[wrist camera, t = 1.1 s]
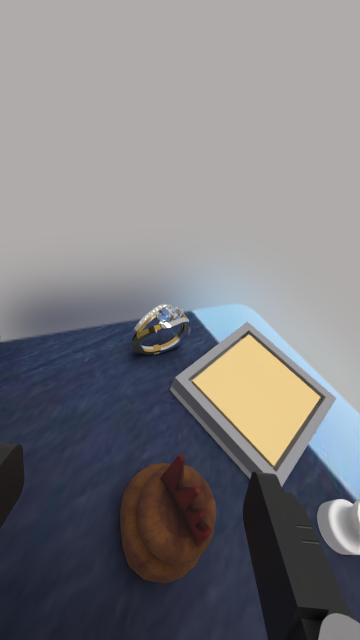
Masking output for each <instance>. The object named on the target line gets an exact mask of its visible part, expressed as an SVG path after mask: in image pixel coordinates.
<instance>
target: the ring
mask: <svg viewBox="0 0 360 640" xmlns="http://www.w3.org/2000/svg"><path fill="white" fill-rule="evenodd" d="M177 309H178V307H176V308H175V309H174V308H173V307H172V305H168V304H161V305H159V306H157V307H156V308H154V309H153V310H152V311H150V312H149V313H148V314H147V315H146V316H144V317H143V318H142V319H141V320H140V322H139V323H138V324H137V325H136V327H135V329H134V330H133V332H132V335H131V340H132V345H133V348H134V350H135V351H136V352H138V353H140V354H154V355H159V354H160V353H163V352H166V351H168V350H171V349H173V348H174V347H176V346H178V345H179V344H180V343H182V342H183V341H184V340H185V339H186V338H187V336H188V335H189V333H190V330H191V325H190V322H189V320H188V319H187V318H186V316H185V315H184V313H183V312H184V310H182V309H181V310H177ZM160 313H162V315H160V316H159V314H160ZM155 317H156V320H157V321H159V325H156V326H153V327H150V328H148V329H146V330H144V331H142V330H143V329H144V328H145V326H146V325H147V324H148V323H149V322H150V321H151V320H152V319H153V318H155ZM170 321H171V322H170ZM166 322H168V323H166ZM179 324H181V329H180V331H179V333H178V334H177V336H176V337H175V338H174V339H172V340H171V341H169V342H167V343H165V344H163V345H154V346H153V347H146V346H142V345H140V342H141V341H142V340H143V339H145V338H146V337H148V336H149V335H151V334H153V333H155V332H157V331H158V330H160V329H163V328H171V327H174V326H176V325H179Z"/></svg>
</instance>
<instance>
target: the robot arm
mask: <svg viewBox="0 0 360 640" xmlns="http://www.w3.org/2000/svg"><path fill="white" fill-rule="evenodd" d="M23 485H24V465H23V449H22V446H21V445H16V444H7V443H0V527H1V526H2V524H3V523H4V521H5V519H6V518H7V516H8V515H9V513H10V511H11V510H12V508H13V507H14V505H15V503H16V502H17V500H18V498H19V496H20V494H21V491H22V488H23ZM243 520H244V527H245V531H246V536H247V541H248V546H249V550H250V555H251V560H252V565H253V569H254V574H255V579H256V584H257V588H258V593H259V598H260V603H261V607H262V612H263V617H264V622H265V626H266V631H267V636H268V640H360V624H359V623H358V622H356V621H355V619H354V618H353V616H352V614H351V612H350V610H349V608H348V606H347V604H346V602H345V599H344V597H343V595H342V592H341V590H340V588H339V586H338V583H337V581H336V579H335V577H334V574H333V572H332V570H331V568H330V565H329V563H328V561H327V559H326V556H325V554H324V552H323V550H322V547H321V545H319V540H318V538H317V536H316V534H315V531H314V530H313V529H312V525H311V522H310V520H309V518H308V516H307V513H306V511H305V509H304V507H303V506H302V505H301V504H300V503H299V501H298V500H297V499H296V498H295V496H294V495H293V494H292V493H286V492H283V490H282V487H281V484H280V482H279V479H278V477H277V475H276V474H272V473H263V472H252V474H251V478H250V481H249V485H248V489H247V493H246V497H245V500H244V505H243Z"/></svg>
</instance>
